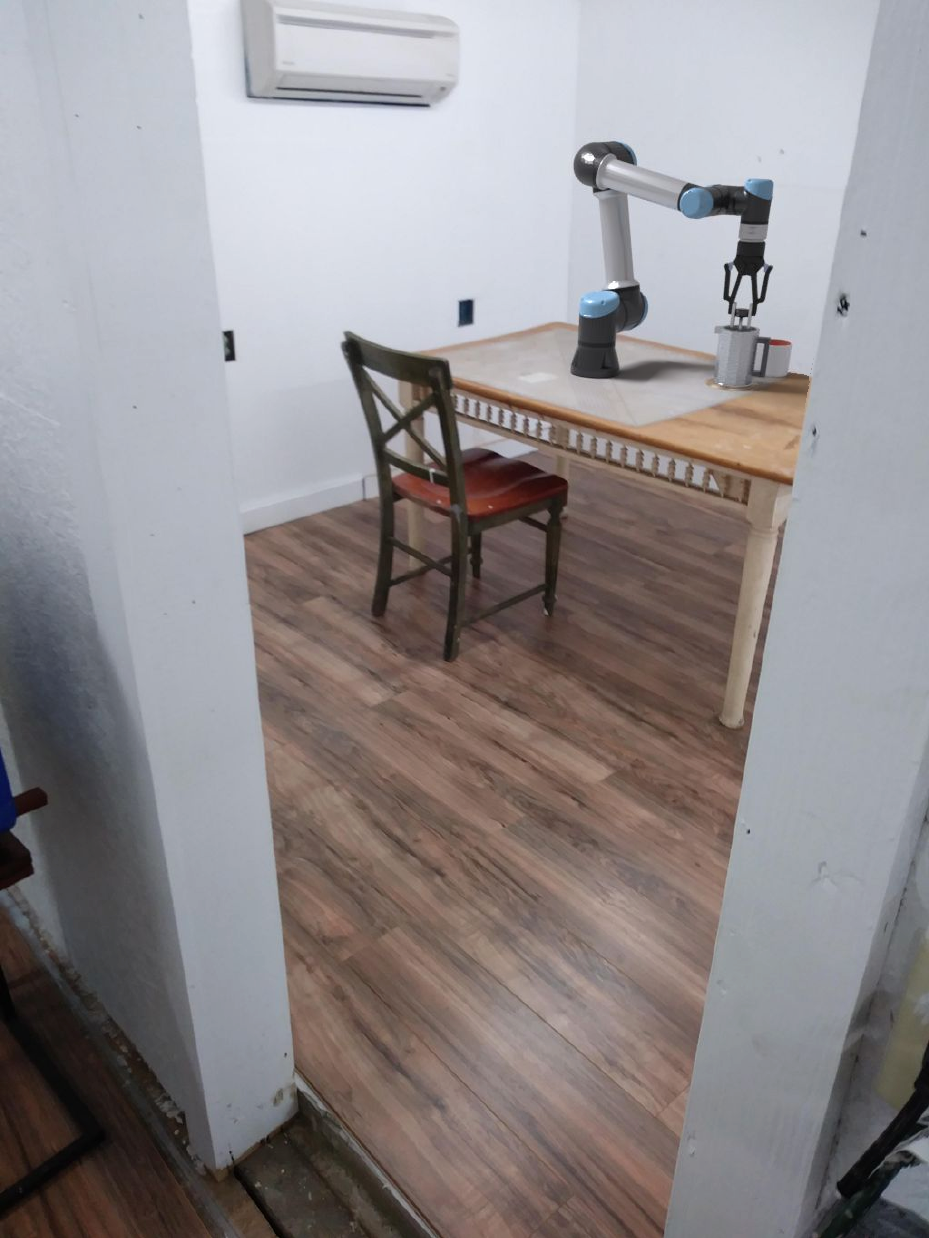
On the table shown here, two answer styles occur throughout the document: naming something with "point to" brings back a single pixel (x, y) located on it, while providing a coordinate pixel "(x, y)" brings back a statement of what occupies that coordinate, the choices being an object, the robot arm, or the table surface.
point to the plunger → (741, 316)
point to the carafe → (738, 356)
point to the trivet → (711, 384)
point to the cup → (775, 358)
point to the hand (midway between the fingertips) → (740, 326)
